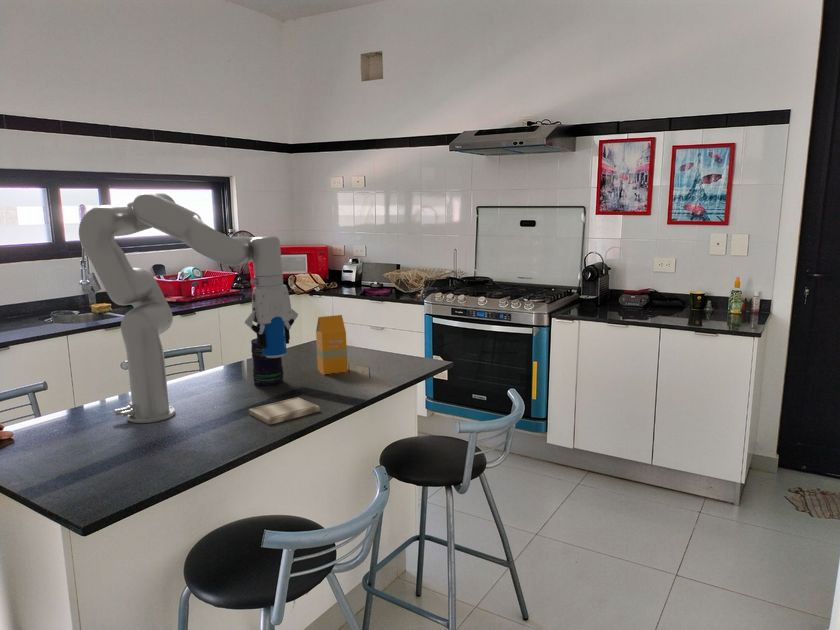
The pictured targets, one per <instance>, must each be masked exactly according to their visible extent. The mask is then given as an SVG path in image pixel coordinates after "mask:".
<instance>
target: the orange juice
mask: <svg viewBox="0 0 840 630" xmlns="http://www.w3.org/2000/svg"><path fill="white" fill-rule="evenodd" d="M315 336H316V337H315V339H316V341H315V342H316V358H317V371H318V370H319V371H320V372H319V371H318V372H319V373H320V374H321V375H323V374H324V375H323V376H326V375H325V374H330V375H332V374H331V373H337V374H339V373H338V372H345V373H347V372H348V349H347V346H348V345H347V331H346V327H345V323H344V319H343V314H339V315H338V314H337V315H328V316H327V315H326V316H319V317H317V324H316V329H315ZM346 371H347V372H346Z"/></svg>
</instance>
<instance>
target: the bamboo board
mask: <svg viewBox="0 0 840 630" xmlns="http://www.w3.org/2000/svg"><path fill="white" fill-rule="evenodd" d="M318 412H320V406H319V405H317V404H315V403H312V402H310V401H308V400H305V399H303V398H301V397H299V396H297V397H293V398H288V399H285V400H281V401H277V402H273V403H268V404H264V405H260V406H256V407H252V408H249V409H248V415H249V416H252V417H253V418H255V419H257V420H259V421H261V422H263V423H265V424H267V425H269V426H270V424H271V425H273V424H278V423H281V422H285V420H286V421H289V420H292V419H296V418H297V419H298V418H299V417H304V416H307V415H311V414H315V413H318Z"/></svg>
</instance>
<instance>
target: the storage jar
mask: <svg viewBox="0 0 840 630" xmlns="http://www.w3.org/2000/svg"><path fill="white" fill-rule="evenodd" d="M250 342H251V346H250V347H251V357H252V361H253V362H252V364H253V368H252V376H253V377H252V378H253V386H254V387H255V386H256V388H259V387H271V388H276V387H275V386H277V387H279V385H280V386H282V385H283V384H284V383H283V382H284V368H283V361H282V357H278V358H267V357H266V356H265V355H263V348H261V347H259V345H258V343H257V337H256V338H254V339H251V340H250ZM281 384H282V385H281Z"/></svg>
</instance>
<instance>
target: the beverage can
mask: <svg viewBox="0 0 840 630" xmlns="http://www.w3.org/2000/svg"><path fill="white" fill-rule="evenodd" d="M275 316H277V315H275ZM263 334H265V338H266V348H263V355H265V356H266V357H267V358H278V357H281V358H283V356H285V355H286V354H287V352H288V351H287V344H286V337H285V324H284V321H283V320H282V318H281V317H274V318H273V319H272V320H271V323H270V324H265V328H264V331H263Z"/></svg>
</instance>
